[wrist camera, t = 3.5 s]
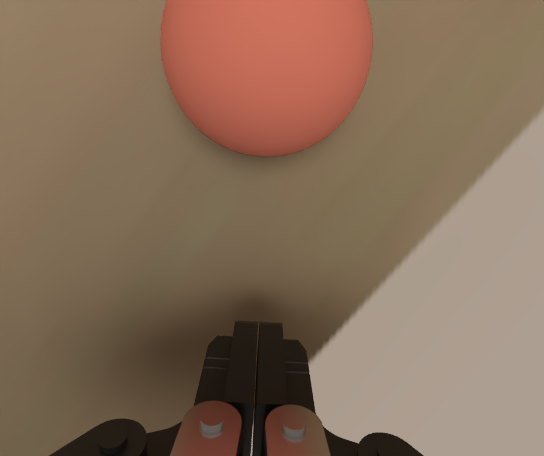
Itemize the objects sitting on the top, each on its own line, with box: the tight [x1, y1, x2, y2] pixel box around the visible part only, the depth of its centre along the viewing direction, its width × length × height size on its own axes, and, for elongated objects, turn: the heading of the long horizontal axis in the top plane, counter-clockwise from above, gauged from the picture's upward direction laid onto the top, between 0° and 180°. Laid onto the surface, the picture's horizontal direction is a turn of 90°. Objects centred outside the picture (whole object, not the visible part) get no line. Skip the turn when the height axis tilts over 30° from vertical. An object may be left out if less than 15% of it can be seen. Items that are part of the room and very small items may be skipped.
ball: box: [161, 0, 373, 157], centre depth 11 cm, size 6×6×6 cm
